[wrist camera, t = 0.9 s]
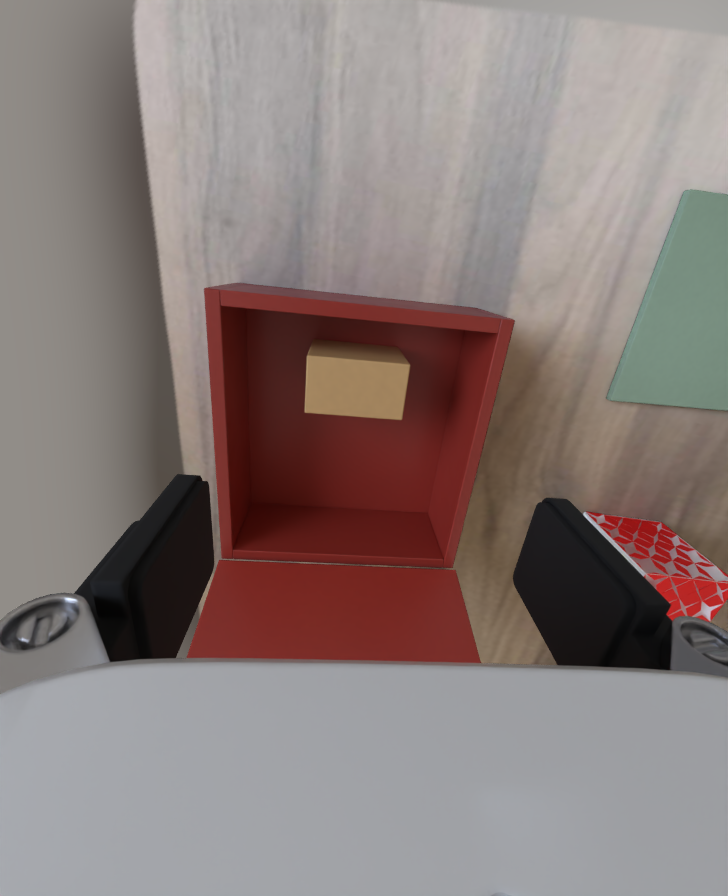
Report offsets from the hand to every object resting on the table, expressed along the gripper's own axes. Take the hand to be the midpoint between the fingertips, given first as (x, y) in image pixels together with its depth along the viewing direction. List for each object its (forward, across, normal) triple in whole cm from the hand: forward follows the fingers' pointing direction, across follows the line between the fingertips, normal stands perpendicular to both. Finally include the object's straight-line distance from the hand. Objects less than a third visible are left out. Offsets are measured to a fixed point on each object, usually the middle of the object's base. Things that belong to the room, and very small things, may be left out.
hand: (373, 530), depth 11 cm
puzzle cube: (+20, -26, +15) cm, 36 cm away
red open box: (+20, 0, +4) cm, 20 cm away
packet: (+19, 0, 0) cm, 19 cm away
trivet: (+20, -27, -6) cm, 34 cm away
